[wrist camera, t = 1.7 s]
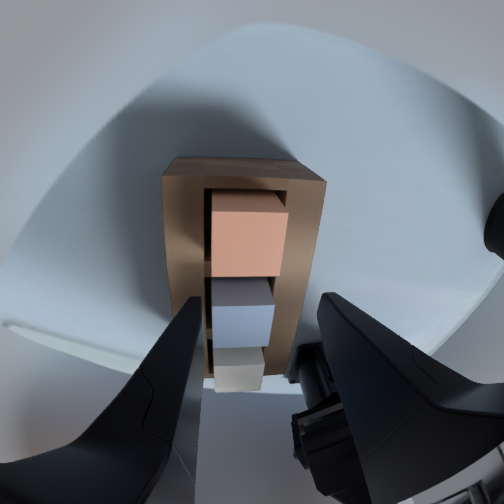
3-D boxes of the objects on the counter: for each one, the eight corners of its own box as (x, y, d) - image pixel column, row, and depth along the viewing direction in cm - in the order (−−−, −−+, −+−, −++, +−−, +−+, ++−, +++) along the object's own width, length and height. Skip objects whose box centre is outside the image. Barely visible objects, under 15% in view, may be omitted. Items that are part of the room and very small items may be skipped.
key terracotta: (265, 239, 16) (279, 276, 13) (211, 239, 16) (211, 276, 13) (271, 187, 15) (288, 212, 12) (212, 185, 14) (212, 211, 11)
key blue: (258, 304, 19) (268, 345, 16) (211, 305, 18) (213, 348, 15) (262, 265, 17) (275, 305, 14) (211, 265, 17) (212, 306, 14)
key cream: (253, 351, 21) (260, 390, 18) (213, 352, 21) (215, 392, 18) (256, 323, 20) (264, 364, 17) (212, 324, 19) (213, 366, 16)
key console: (273, 331, 25) (284, 373, 21) (185, 333, 24) (183, 377, 19) (298, 161, 18) (326, 181, 13) (175, 157, 16) (161, 176, 12)
